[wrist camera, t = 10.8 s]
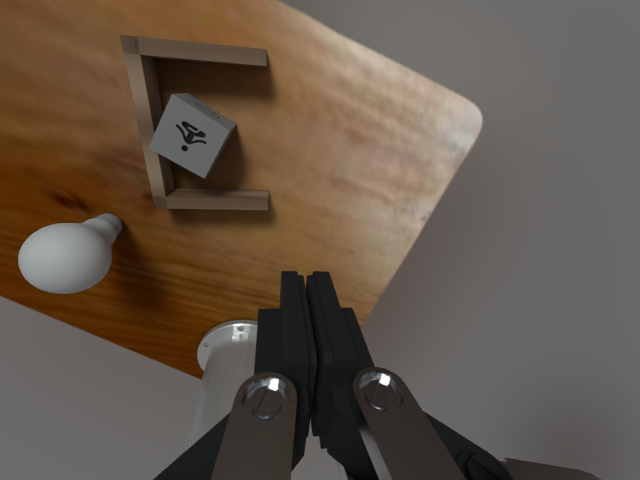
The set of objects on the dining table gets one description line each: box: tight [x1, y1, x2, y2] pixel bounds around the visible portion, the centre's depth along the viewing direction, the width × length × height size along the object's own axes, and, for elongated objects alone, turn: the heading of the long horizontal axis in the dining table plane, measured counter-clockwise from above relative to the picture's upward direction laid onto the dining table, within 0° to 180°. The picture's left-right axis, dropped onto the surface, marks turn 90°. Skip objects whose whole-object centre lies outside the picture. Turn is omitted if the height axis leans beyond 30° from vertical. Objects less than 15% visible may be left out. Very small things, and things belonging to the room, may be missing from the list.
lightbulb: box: [18, 214, 122, 294], centre depth 28 cm, size 6×6×11 cm
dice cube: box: [148, 93, 236, 179], centre depth 27 cm, size 5×5×5 cm
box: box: [120, 35, 269, 210], centre depth 28 cm, size 14×11×3 cm
